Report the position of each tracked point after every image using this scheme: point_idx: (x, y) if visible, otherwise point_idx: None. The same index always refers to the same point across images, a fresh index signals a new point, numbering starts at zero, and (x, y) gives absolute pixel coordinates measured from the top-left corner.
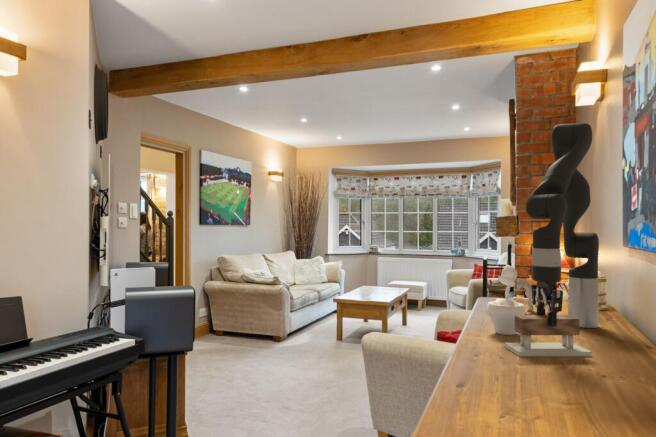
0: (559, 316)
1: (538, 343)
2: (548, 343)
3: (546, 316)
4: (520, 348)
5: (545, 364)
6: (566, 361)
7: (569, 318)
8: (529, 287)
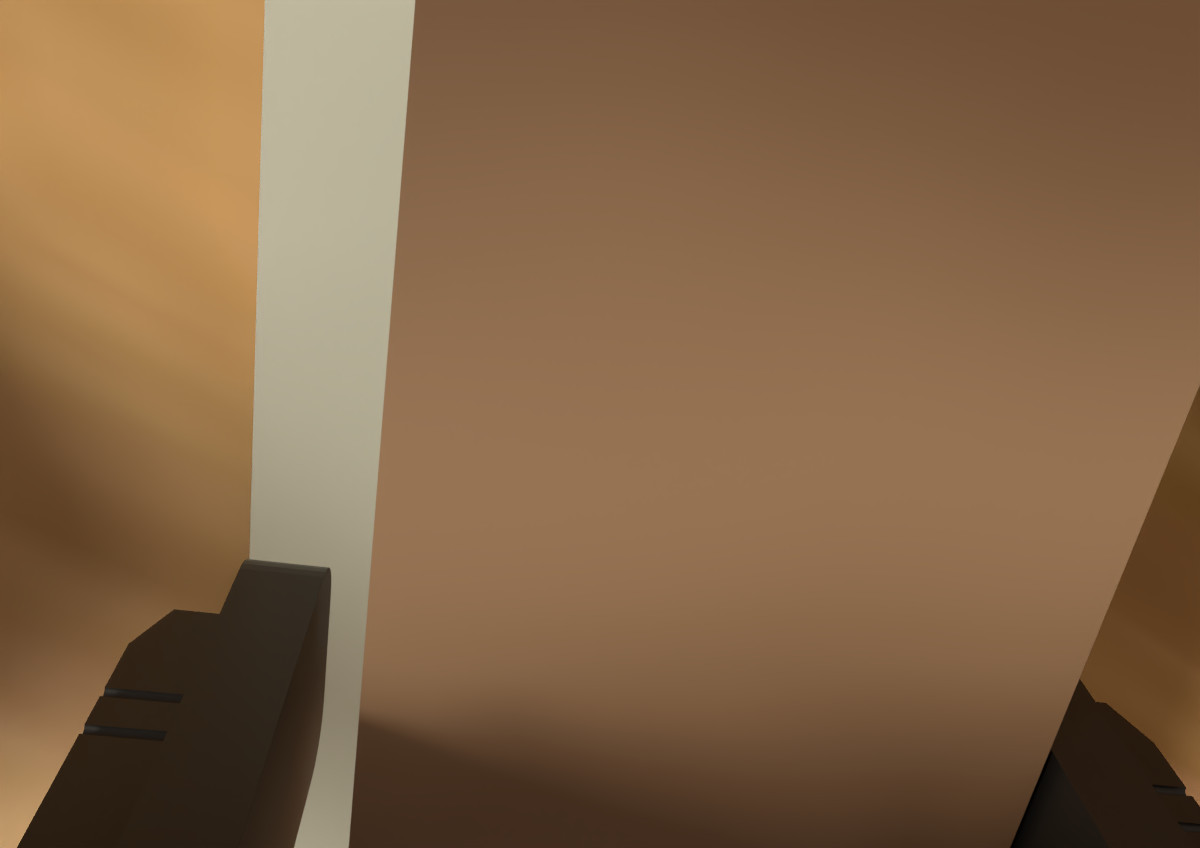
0: (695, 363)
1: (325, 388)
2: (334, 184)
3: (607, 815)
4: None
5: (1185, 748)
6: (1190, 409)
7: (1168, 192)
8: None
